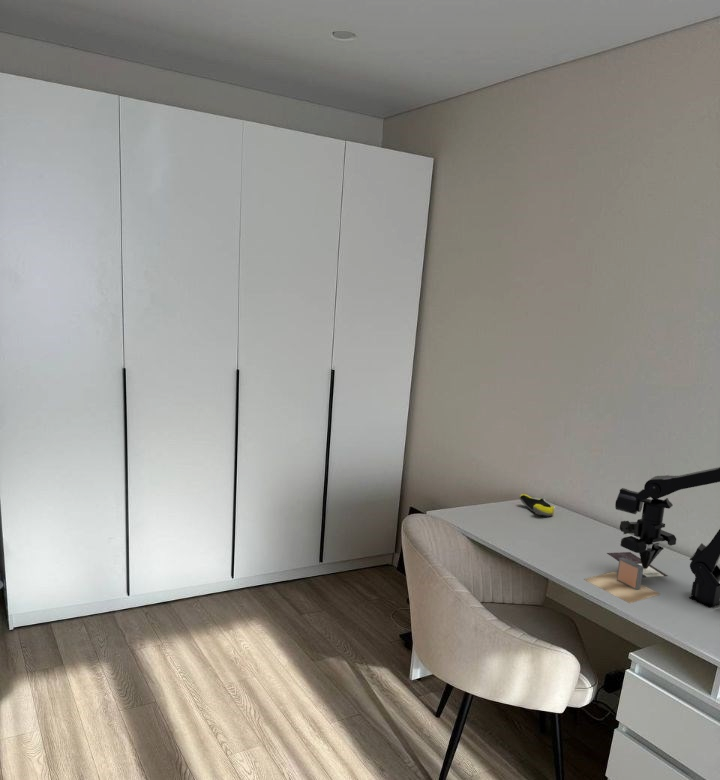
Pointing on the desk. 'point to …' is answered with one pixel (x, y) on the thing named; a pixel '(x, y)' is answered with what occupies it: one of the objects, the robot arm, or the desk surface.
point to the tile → (630, 573)
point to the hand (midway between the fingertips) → (644, 567)
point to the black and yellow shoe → (537, 505)
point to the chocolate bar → (647, 572)
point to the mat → (621, 588)
